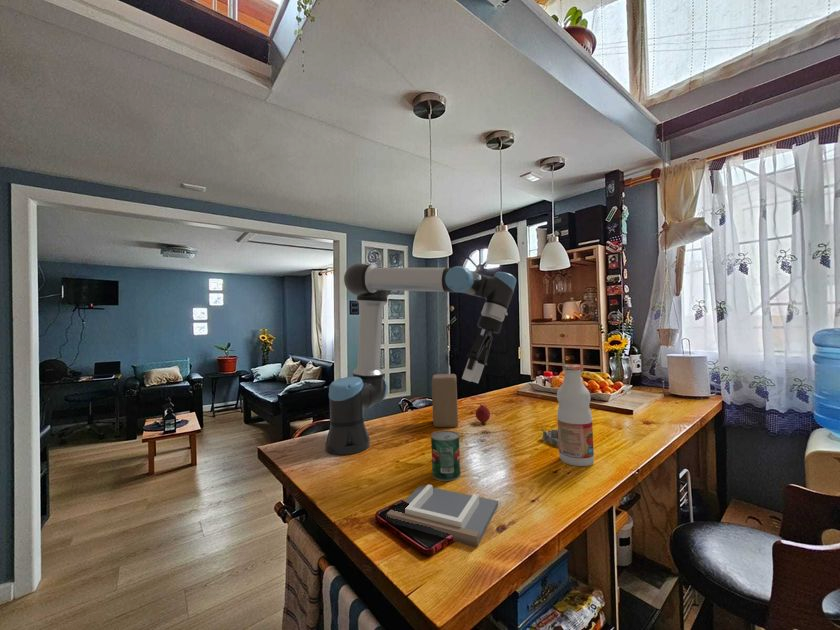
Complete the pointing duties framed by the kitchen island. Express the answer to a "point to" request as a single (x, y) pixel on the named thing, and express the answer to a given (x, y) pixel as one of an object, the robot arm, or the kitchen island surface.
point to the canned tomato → (445, 455)
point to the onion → (482, 414)
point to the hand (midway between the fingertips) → (470, 381)
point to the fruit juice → (574, 419)
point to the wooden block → (444, 400)
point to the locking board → (449, 513)
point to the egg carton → (551, 434)
